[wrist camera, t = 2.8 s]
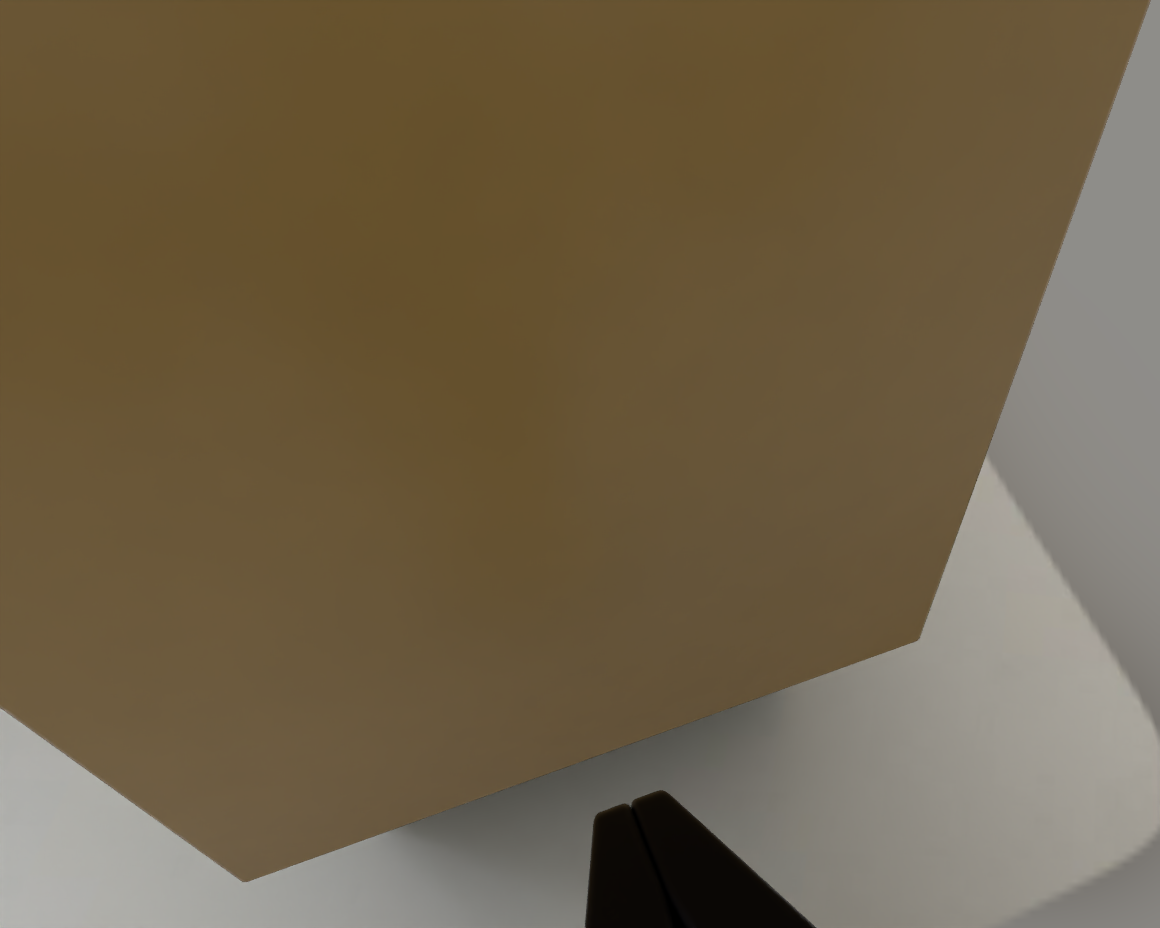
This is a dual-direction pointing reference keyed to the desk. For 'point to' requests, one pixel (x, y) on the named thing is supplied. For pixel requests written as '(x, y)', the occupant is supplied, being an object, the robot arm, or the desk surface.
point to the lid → (496, 371)
